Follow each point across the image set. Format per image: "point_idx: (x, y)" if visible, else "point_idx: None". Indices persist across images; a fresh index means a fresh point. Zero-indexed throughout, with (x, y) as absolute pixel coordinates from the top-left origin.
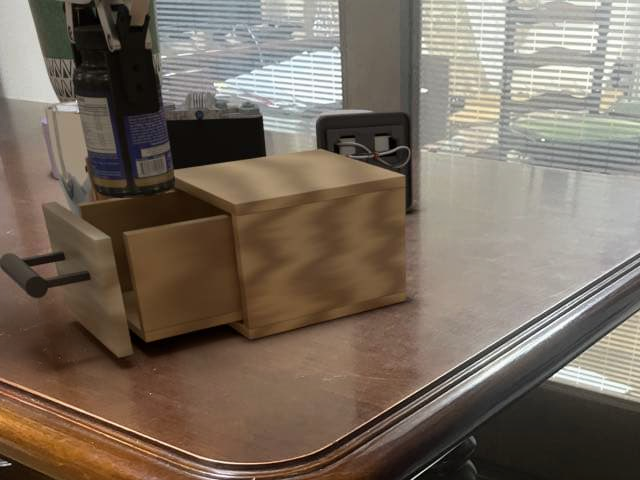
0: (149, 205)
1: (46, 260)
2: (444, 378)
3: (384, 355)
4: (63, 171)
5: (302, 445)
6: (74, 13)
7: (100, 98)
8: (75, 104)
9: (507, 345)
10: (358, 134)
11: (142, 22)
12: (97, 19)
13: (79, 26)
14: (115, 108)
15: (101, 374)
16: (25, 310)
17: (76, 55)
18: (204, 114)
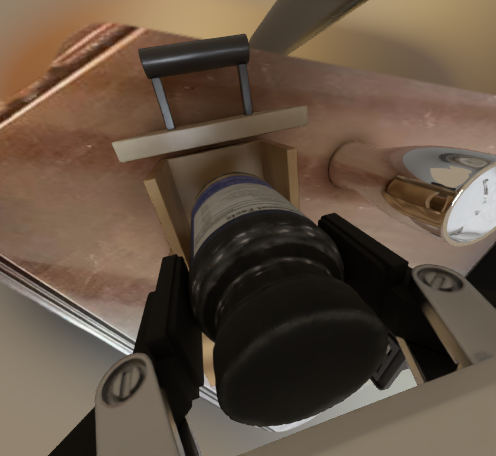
0: None
1: (241, 94)
2: (80, 309)
3: (124, 289)
4: (417, 152)
5: None
6: (449, 340)
7: (198, 247)
8: None
9: (122, 340)
10: (387, 358)
11: None
12: (446, 352)
13: (424, 313)
14: (166, 259)
15: (139, 115)
16: (309, 77)
17: (374, 255)
18: None
